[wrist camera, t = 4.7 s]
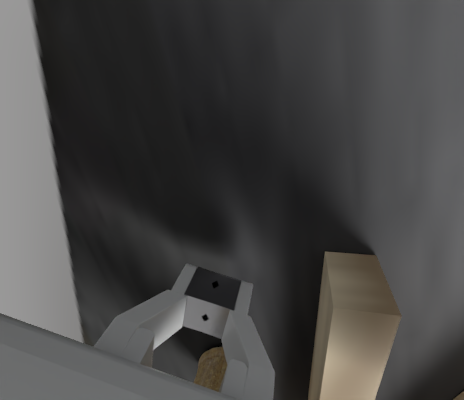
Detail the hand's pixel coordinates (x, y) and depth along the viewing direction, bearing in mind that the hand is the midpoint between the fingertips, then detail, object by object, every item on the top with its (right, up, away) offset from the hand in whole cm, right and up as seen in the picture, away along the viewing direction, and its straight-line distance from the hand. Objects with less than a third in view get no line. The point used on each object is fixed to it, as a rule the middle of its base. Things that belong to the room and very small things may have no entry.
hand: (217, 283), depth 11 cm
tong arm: (+6, -9, +5) cm, 12 cm away
